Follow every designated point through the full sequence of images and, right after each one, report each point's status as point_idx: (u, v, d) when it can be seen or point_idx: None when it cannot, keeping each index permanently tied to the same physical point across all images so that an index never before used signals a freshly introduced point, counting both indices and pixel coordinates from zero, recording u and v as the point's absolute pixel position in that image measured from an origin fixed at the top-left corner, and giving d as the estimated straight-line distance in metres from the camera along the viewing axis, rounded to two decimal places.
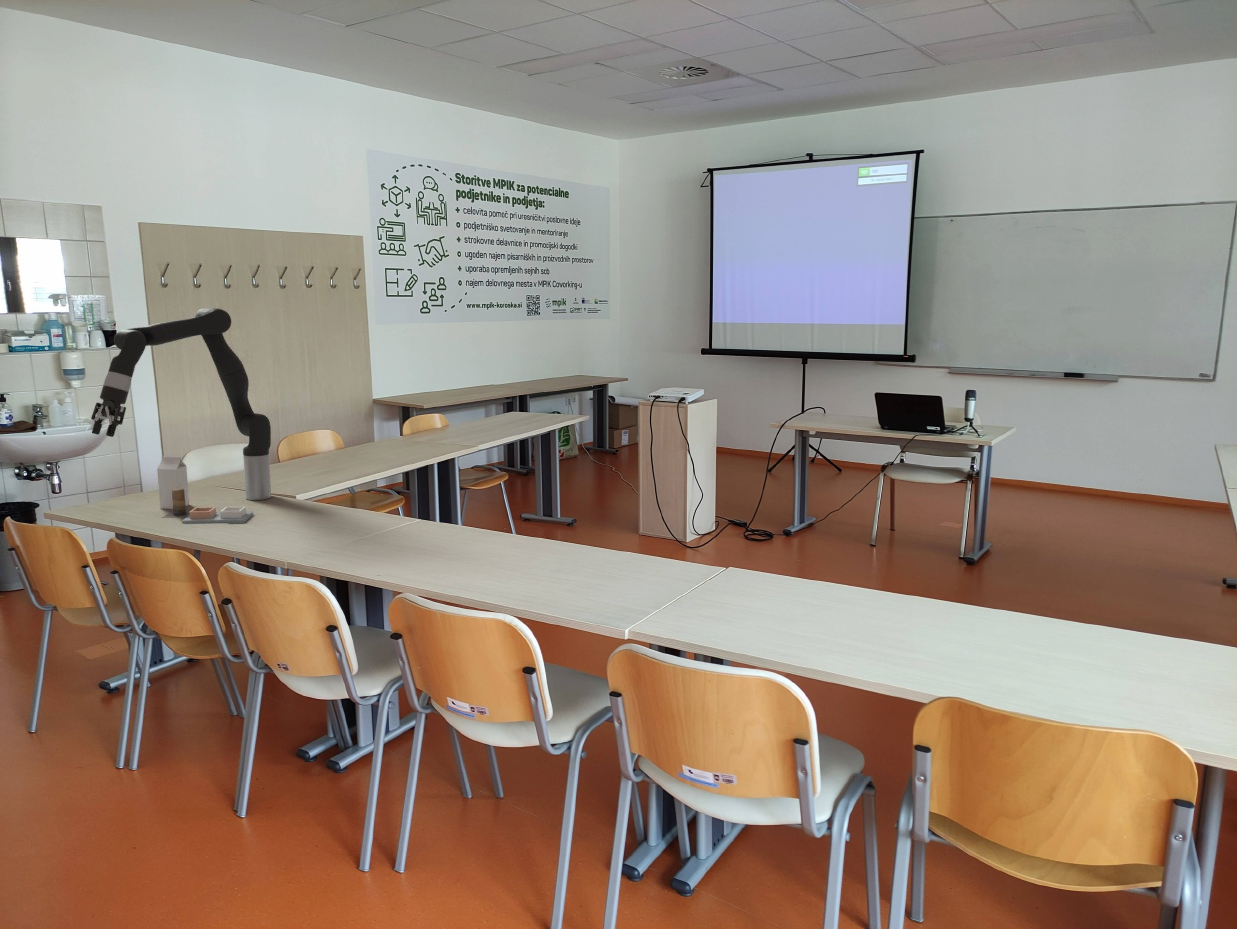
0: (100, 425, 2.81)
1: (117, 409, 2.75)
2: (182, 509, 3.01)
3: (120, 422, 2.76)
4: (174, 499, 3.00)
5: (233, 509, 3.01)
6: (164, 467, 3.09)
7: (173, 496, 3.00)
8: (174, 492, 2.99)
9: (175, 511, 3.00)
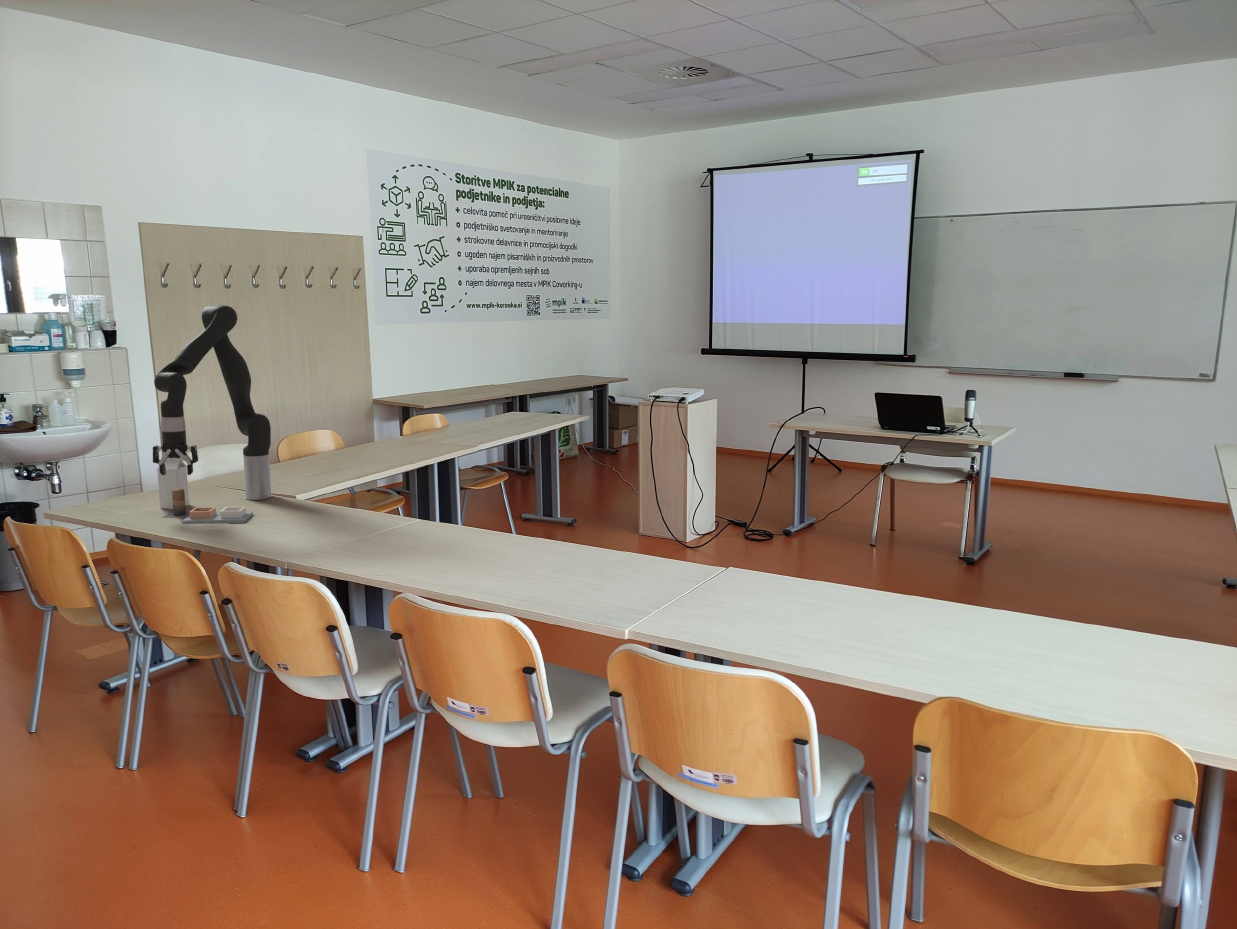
0: None
1: (193, 450, 2.98)
2: (182, 509, 3.01)
3: (197, 460, 3.01)
4: (174, 499, 3.00)
5: (233, 509, 3.01)
6: None
7: (173, 496, 3.00)
8: (174, 492, 2.99)
9: (175, 511, 3.00)
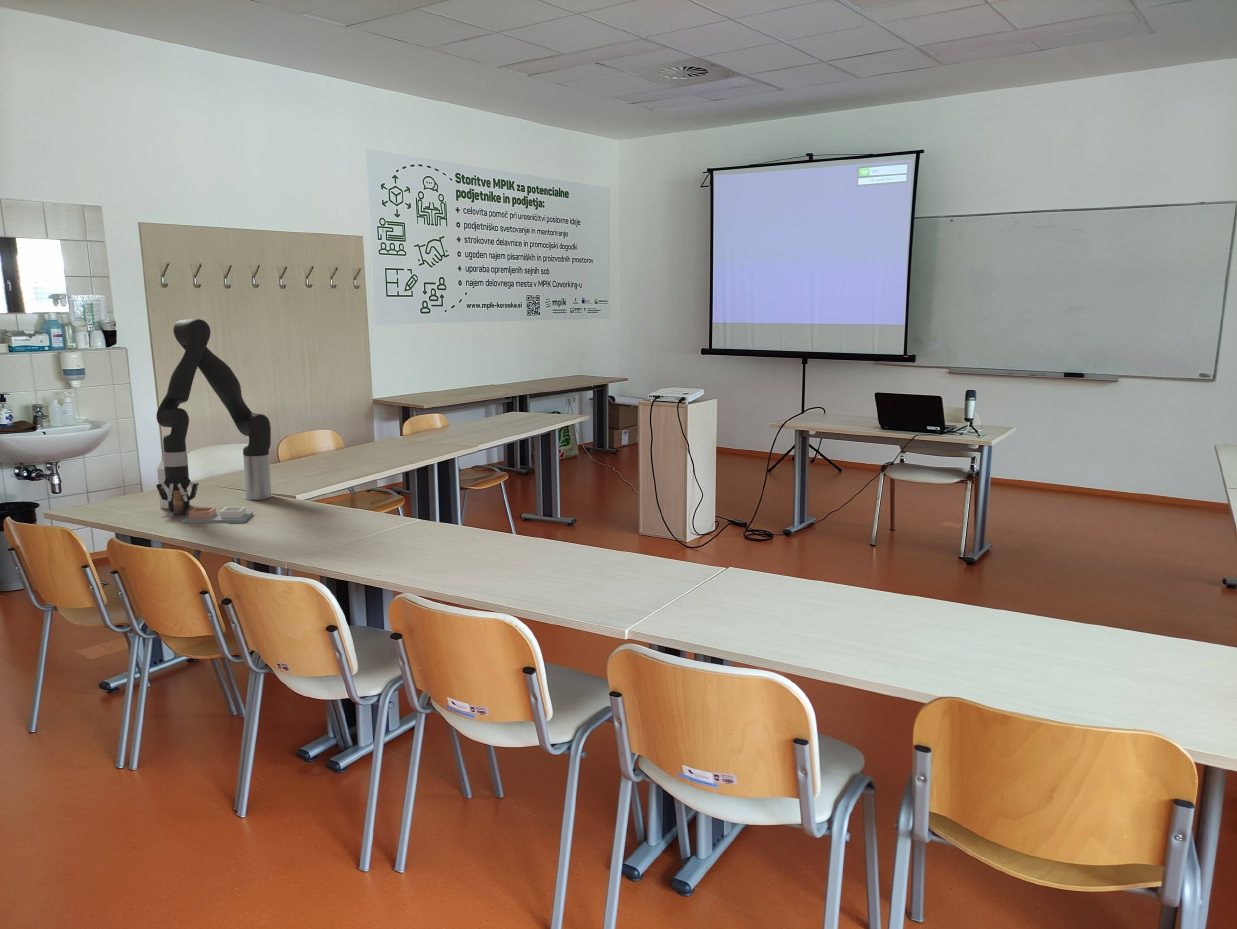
0: None
1: (194, 487, 3.01)
2: (182, 509, 3.01)
3: (194, 497, 3.03)
4: (174, 499, 3.00)
5: (233, 509, 3.01)
6: None
7: (173, 496, 3.00)
8: (174, 492, 2.99)
9: (175, 511, 3.00)
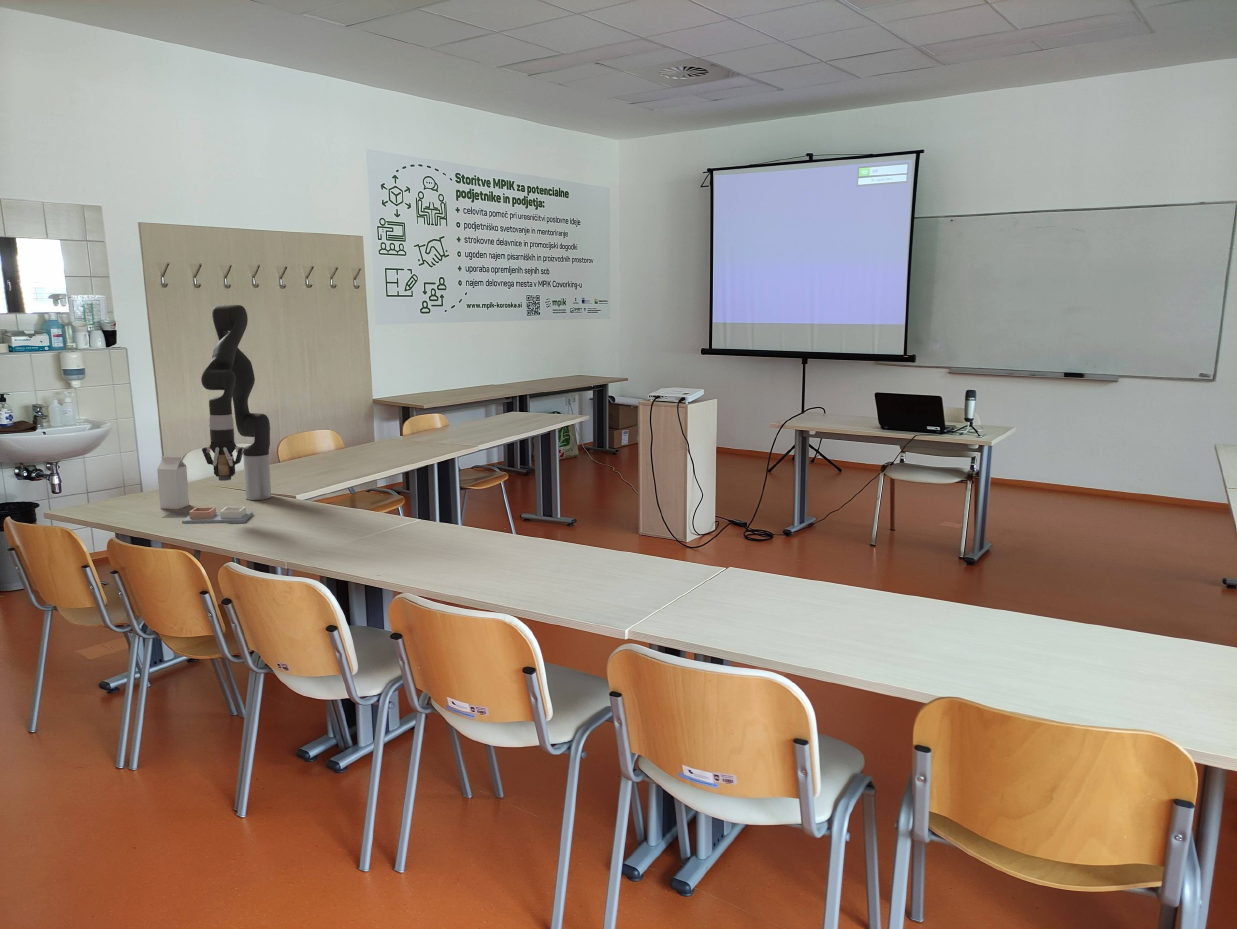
0: None
1: (240, 452, 2.94)
2: (227, 474, 2.95)
3: (239, 462, 2.96)
4: (219, 463, 2.93)
5: (233, 509, 3.01)
6: (164, 467, 3.09)
7: (218, 460, 2.93)
8: (219, 456, 2.93)
9: (220, 476, 2.94)
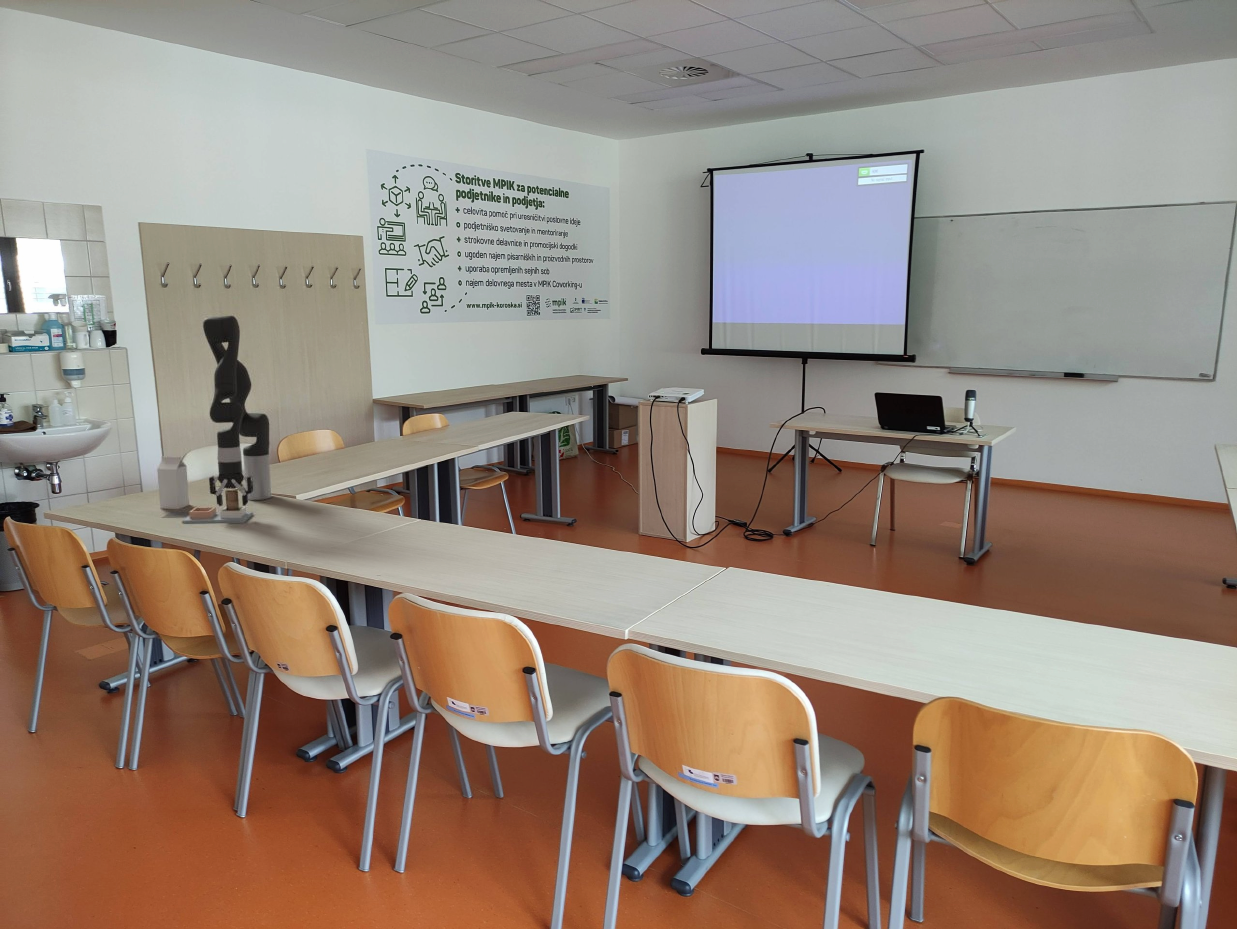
0: (221, 496, 2.97)
1: (249, 480, 2.96)
2: (236, 510, 2.97)
3: (252, 490, 2.99)
4: (228, 500, 2.96)
5: None
6: (164, 467, 3.09)
7: (227, 497, 2.96)
8: (228, 493, 2.95)
9: None
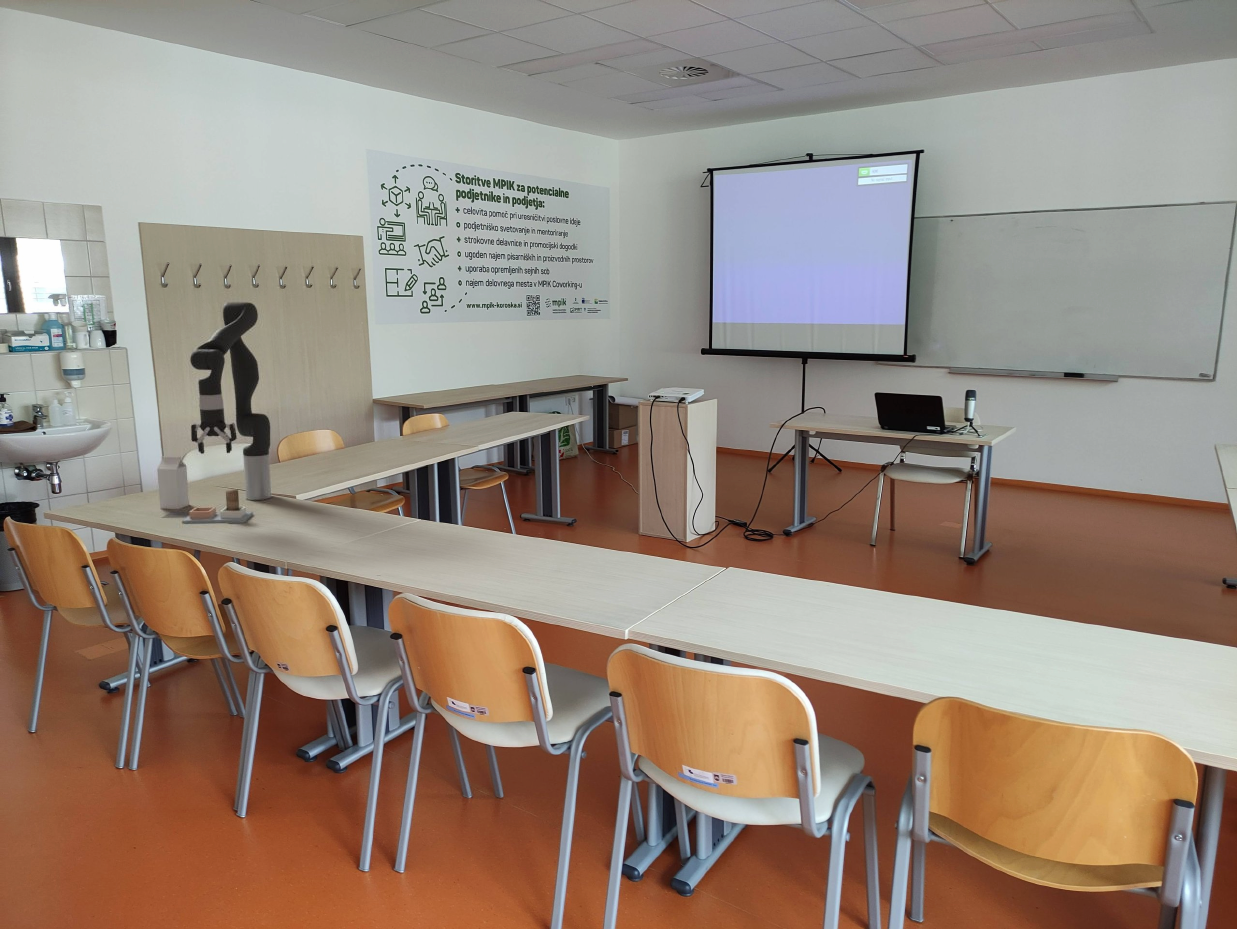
0: (203, 444, 2.97)
1: (232, 428, 2.96)
2: (236, 510, 2.97)
3: (236, 438, 2.99)
4: (228, 500, 2.96)
5: None
6: (164, 467, 3.09)
7: (227, 497, 2.96)
8: (228, 493, 2.95)
9: None
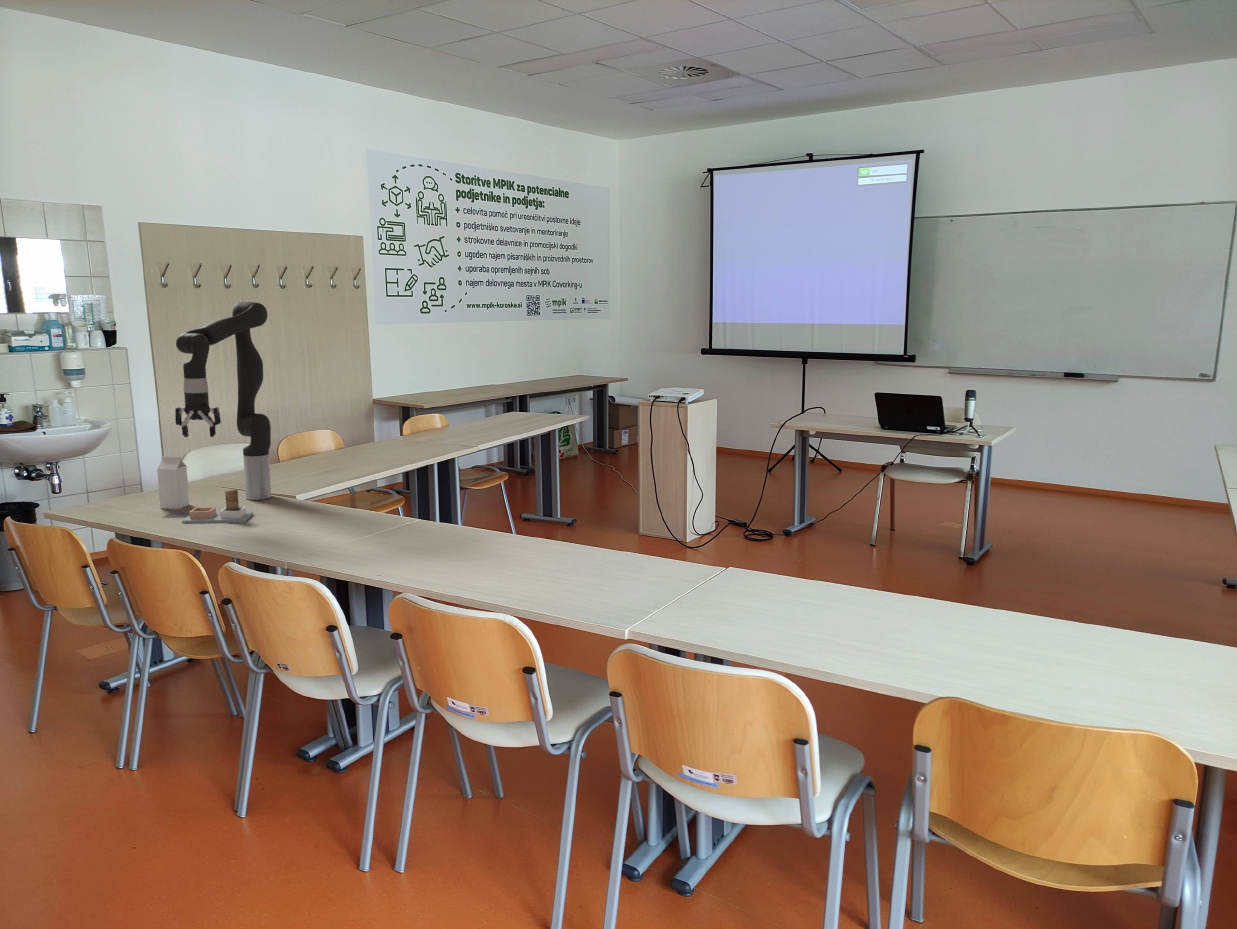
0: (187, 427, 2.99)
1: (215, 412, 2.98)
2: (236, 510, 2.97)
3: (220, 422, 3.00)
4: (228, 500, 2.96)
5: None
6: (164, 467, 3.09)
7: (227, 497, 2.96)
8: (228, 493, 2.95)
9: None
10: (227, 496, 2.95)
